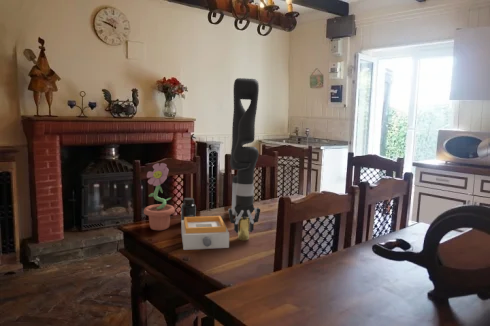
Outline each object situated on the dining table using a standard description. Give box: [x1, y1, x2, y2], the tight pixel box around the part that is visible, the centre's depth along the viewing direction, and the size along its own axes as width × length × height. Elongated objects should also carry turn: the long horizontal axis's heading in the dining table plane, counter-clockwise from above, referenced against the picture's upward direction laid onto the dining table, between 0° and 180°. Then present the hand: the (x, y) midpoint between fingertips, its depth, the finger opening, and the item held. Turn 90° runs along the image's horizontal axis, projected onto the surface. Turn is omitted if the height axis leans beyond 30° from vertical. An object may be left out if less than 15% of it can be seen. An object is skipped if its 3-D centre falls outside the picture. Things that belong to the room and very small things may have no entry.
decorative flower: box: [143, 162, 176, 231], centre depth 172 cm, size 15×14×30 cm
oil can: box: [237, 216, 250, 241], centre depth 163 cm, size 5×5×10 cm
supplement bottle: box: [180, 197, 197, 221], centre depth 182 cm, size 7×7×12 cm
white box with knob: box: [180, 215, 230, 251], centre depth 158 cm, size 23×18×8 cm
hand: (243, 231), depth 163 cm, fingers open, 5 cm apart
